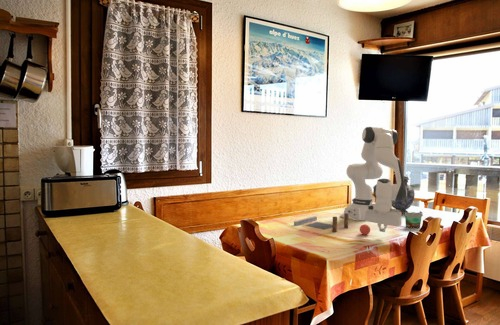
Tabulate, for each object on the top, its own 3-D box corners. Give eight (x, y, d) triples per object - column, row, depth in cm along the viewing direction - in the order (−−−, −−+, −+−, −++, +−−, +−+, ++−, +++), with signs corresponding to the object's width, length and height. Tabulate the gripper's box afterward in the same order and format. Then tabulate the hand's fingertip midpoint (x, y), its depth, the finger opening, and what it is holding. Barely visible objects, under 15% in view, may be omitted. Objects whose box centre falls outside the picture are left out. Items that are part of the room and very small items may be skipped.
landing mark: (305, 225, 241) (305, 225, 241) (317, 222, 251) (317, 221, 251) (324, 229, 232) (324, 229, 232) (335, 225, 242) (335, 225, 242)
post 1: (331, 231, 227) (331, 216, 226) (333, 230, 229) (334, 216, 228) (335, 232, 225) (335, 217, 224) (337, 231, 227) (337, 217, 226)
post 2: (343, 227, 237) (343, 213, 237) (345, 227, 239) (345, 213, 239) (346, 228, 236) (347, 214, 235) (348, 227, 238) (349, 213, 237)
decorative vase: (392, 208, 307) (395, 174, 304) (416, 212, 295) (419, 176, 293) (383, 212, 290) (385, 176, 288) (408, 216, 279) (410, 178, 276)
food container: (410, 229, 237) (410, 213, 236) (403, 227, 243) (404, 211, 242) (426, 228, 240) (427, 213, 240) (419, 226, 246) (420, 211, 246)
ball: (357, 234, 221) (358, 224, 221) (362, 232, 226) (362, 222, 225) (367, 236, 217) (367, 226, 217) (371, 234, 222) (372, 224, 221)
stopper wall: (293, 225, 241) (294, 221, 241) (314, 219, 259) (314, 216, 259) (296, 225, 240) (296, 222, 239) (316, 220, 257) (316, 216, 257)
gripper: (403, 209, 209) (402, 233, 209) (368, 204, 222) (367, 227, 223) (399, 210, 204) (398, 235, 205) (364, 205, 218) (363, 229, 218)
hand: (382, 231), depth 214 cm, fingers closed
